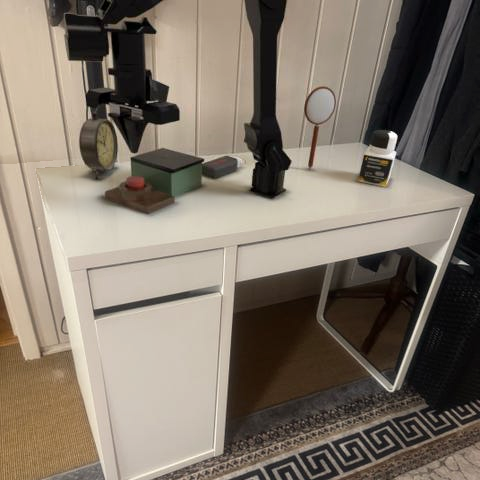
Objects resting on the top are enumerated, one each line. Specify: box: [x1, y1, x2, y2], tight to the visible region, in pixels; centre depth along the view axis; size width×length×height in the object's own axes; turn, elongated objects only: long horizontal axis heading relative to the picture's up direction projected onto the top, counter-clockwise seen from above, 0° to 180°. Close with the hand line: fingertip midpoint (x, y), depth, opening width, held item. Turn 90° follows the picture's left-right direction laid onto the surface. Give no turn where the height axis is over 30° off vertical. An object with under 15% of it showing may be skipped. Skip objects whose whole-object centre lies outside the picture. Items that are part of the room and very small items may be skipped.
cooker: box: [130, 160, 203, 198], centre depth 104 cm, size 12×11×5 cm
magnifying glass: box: [303, 86, 337, 171], centre depth 116 cm, size 9×2×20 cm, turn 113°
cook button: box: [125, 175, 145, 190], centre depth 94 cm, size 4×4×2 cm
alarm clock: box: [78, 107, 119, 180], centre depth 104 cm, size 11×5×16 cm, turn 168°
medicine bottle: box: [357, 129, 398, 188], centre depth 116 cm, size 7×7×12 cm
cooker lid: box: [130, 147, 205, 173], centre depth 102 cm, size 12×11×1 cm
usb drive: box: [202, 155, 242, 180], centre depth 115 cm, size 5×12×3 cm, turn 143°
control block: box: [104, 180, 175, 215], centre depth 96 cm, size 12×8×4 cm
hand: (134, 152), depth 91 cm, fingers closed
